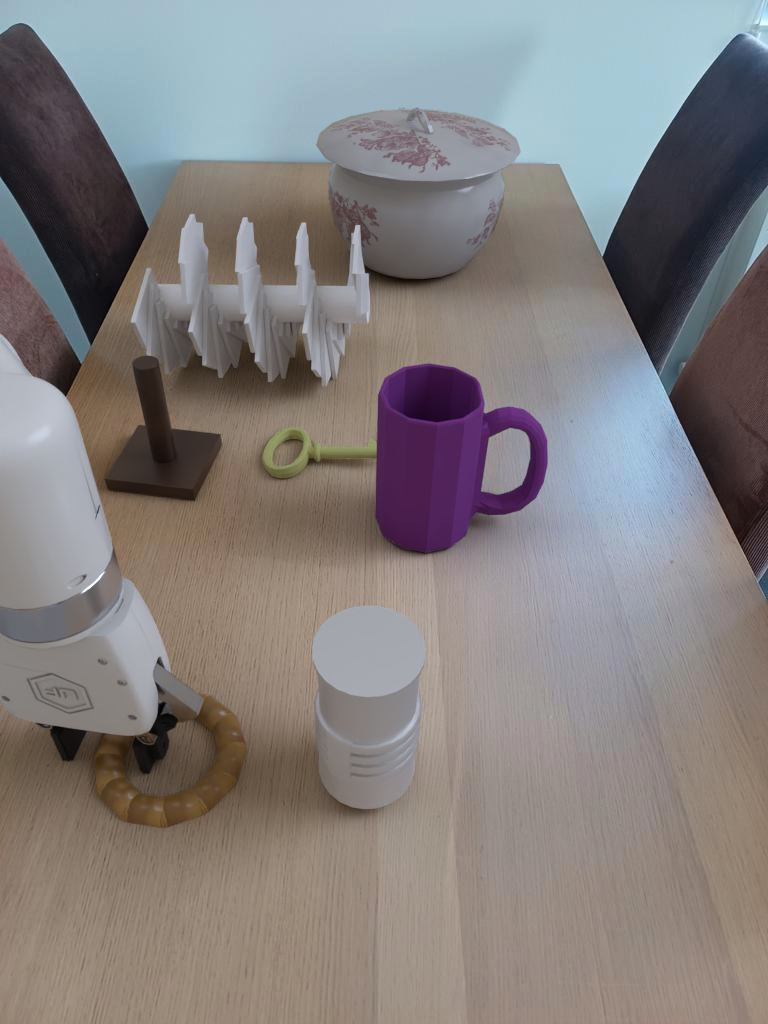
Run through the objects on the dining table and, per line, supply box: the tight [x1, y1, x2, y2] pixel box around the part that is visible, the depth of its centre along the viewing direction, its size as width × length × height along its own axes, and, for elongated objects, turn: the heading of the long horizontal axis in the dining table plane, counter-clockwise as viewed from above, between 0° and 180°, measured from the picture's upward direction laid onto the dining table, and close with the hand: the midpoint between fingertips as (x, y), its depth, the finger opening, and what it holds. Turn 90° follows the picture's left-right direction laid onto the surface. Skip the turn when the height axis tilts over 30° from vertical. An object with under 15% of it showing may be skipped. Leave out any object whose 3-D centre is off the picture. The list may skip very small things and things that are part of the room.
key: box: [262, 426, 377, 479], centre depth 84 cm, size 7×12×2 cm, turn 102°
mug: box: [374, 362, 549, 554], centre depth 72 cm, size 9×16×15 cm, turn 92°
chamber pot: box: [316, 107, 522, 280], centre depth 112 cm, size 28×28×21 cm
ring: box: [92, 692, 247, 829], centre depth 57 cm, size 10×10×2 cm
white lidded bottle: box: [311, 604, 427, 810], centre depth 52 cm, size 7×7×15 cm
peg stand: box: [104, 355, 223, 501], centre depth 78 cm, size 9×9×12 cm
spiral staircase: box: [130, 213, 371, 387], centre depth 91 cm, size 18×18×25 cm
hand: (115, 749), depth 58 cm, fingers open, 5 cm apart
